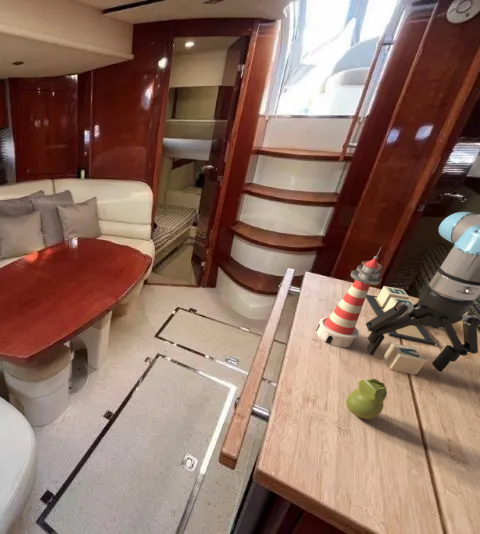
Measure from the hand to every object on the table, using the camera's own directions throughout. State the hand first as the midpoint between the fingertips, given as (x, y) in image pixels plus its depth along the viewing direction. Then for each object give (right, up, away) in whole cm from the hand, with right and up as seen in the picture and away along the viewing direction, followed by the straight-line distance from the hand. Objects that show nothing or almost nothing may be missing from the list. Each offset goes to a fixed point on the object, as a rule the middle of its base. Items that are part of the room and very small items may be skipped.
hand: (401, 359), depth 79 cm
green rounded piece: (-21, -9, -10) cm, 25 cm away
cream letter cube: (0, -2, +1) cm, 2 cm away
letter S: (+19, +12, +22) cm, 32 cm away
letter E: (+16, +9, +17) cm, 25 cm away
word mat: (+17, +8, +17) cm, 25 cm away
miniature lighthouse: (-9, +3, +11) cm, 14 cm away
